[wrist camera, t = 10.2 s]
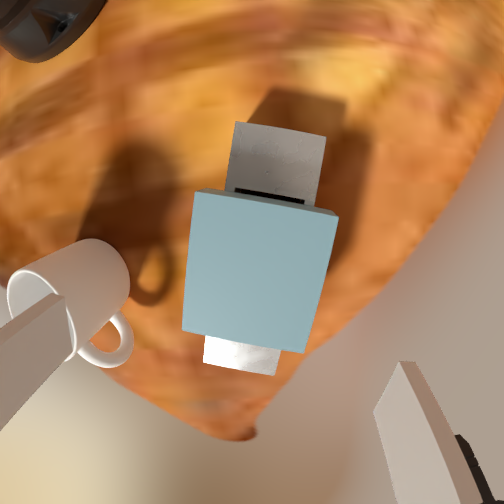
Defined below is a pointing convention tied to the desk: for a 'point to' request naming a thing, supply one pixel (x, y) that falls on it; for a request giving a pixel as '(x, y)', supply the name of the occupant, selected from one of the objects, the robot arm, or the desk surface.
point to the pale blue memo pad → (255, 268)
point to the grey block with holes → (275, 182)
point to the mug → (80, 295)
